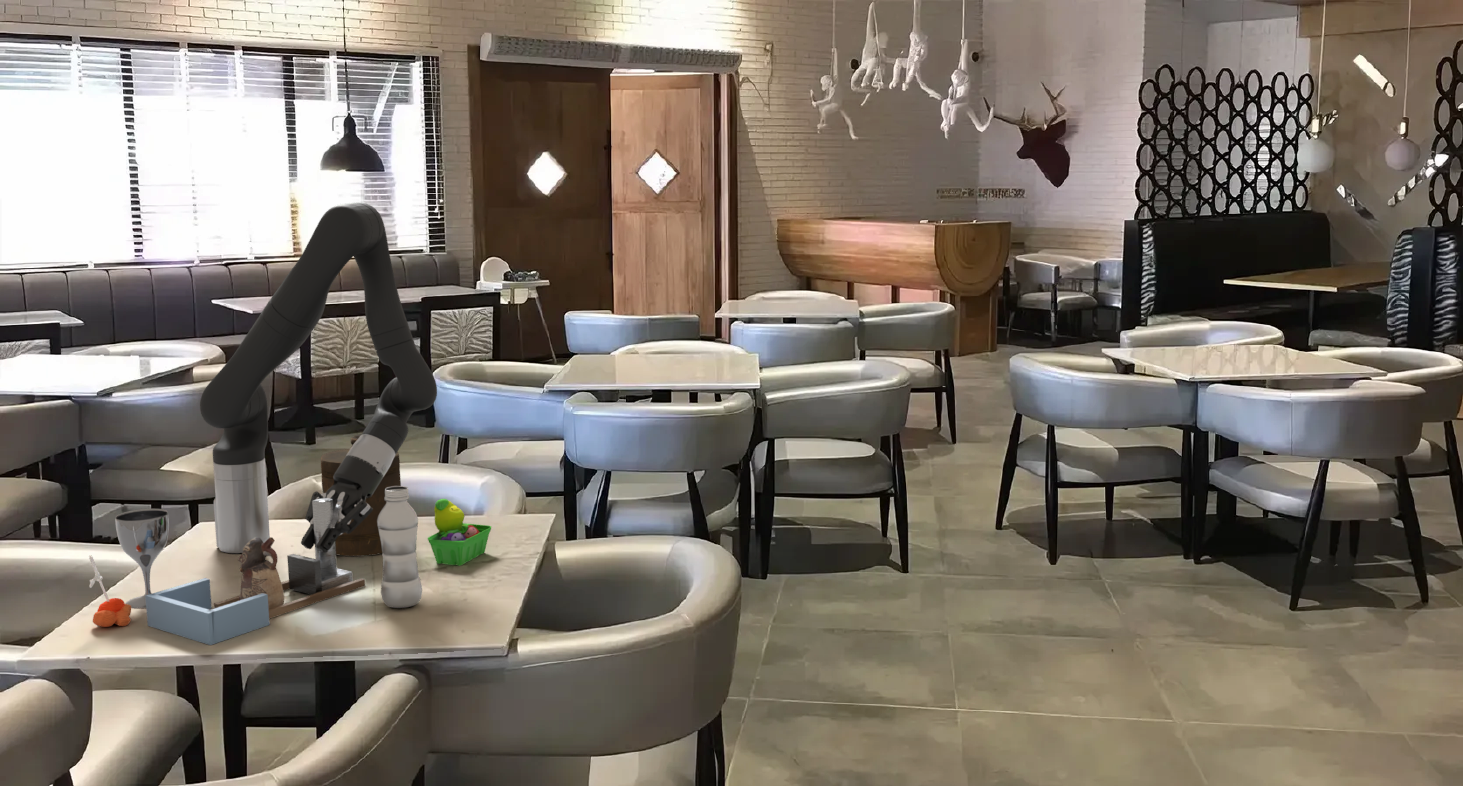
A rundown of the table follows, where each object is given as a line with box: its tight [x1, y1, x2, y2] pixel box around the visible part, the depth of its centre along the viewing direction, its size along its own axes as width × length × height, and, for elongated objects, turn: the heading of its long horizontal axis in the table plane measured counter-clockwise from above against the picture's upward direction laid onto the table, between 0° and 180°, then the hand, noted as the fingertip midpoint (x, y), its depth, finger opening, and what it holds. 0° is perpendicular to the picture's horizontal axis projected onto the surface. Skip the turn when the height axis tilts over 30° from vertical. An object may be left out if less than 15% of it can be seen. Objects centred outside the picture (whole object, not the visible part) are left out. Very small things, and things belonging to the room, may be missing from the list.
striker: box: [286, 498, 354, 595], centre depth 214 cm, size 7×8×15 cm
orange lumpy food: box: [88, 555, 132, 628], centre depth 195 cm, size 6×10×12 cm, turn 170°
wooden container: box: [320, 433, 402, 557], centre depth 239 cm, size 15×15×22 cm
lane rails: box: [213, 578, 366, 619], centre depth 209 cm, size 11×22×1 cm, turn 148°
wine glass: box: [114, 508, 170, 609], centre depth 207 cm, size 8×8×15 cm
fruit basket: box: [427, 498, 492, 567], centre depth 232 cm, size 11×9×11 cm
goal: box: [144, 577, 270, 646], centre depth 196 cm, size 16×11×5 cm, turn 57°
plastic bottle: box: [377, 485, 423, 609], centre depth 204 cm, size 6×7×20 cm
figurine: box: [237, 536, 285, 609], centre depth 204 cm, size 7×7×12 cm
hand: (313, 548), depth 212 cm, fingers closed on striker, 3 cm apart
